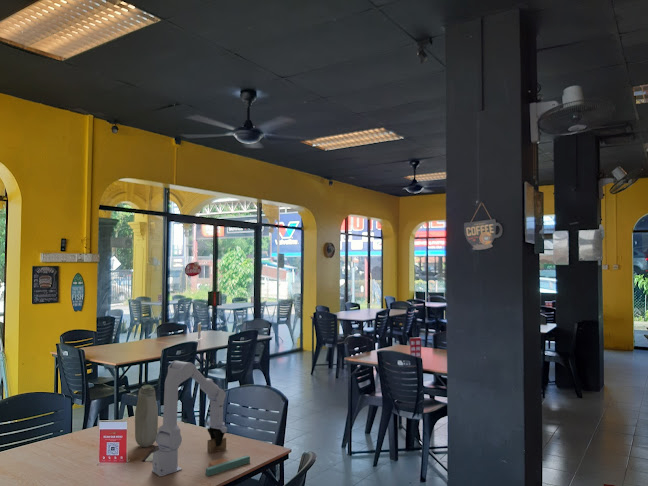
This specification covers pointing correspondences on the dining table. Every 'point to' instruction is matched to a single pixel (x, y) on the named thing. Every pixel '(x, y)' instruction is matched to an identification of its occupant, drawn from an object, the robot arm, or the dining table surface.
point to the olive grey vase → (146, 417)
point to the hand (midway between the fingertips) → (216, 444)
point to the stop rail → (227, 465)
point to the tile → (217, 462)
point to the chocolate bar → (150, 454)
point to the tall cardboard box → (212, 445)
